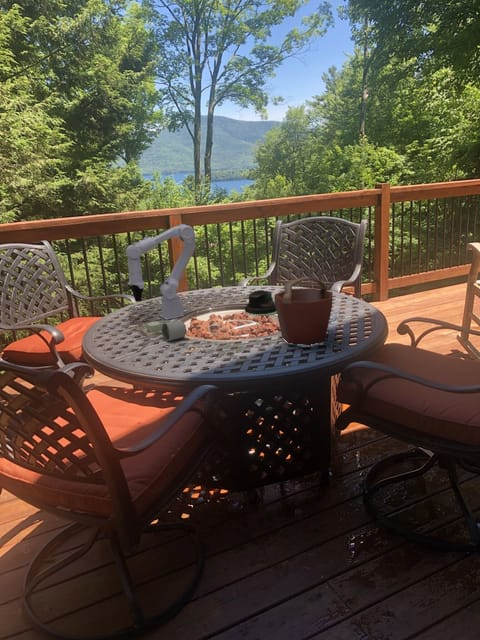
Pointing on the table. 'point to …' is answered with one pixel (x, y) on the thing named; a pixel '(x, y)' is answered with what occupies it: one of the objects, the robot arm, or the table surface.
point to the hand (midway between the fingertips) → (138, 301)
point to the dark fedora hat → (261, 303)
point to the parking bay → (149, 333)
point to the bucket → (304, 312)
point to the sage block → (154, 327)
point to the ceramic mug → (173, 330)
